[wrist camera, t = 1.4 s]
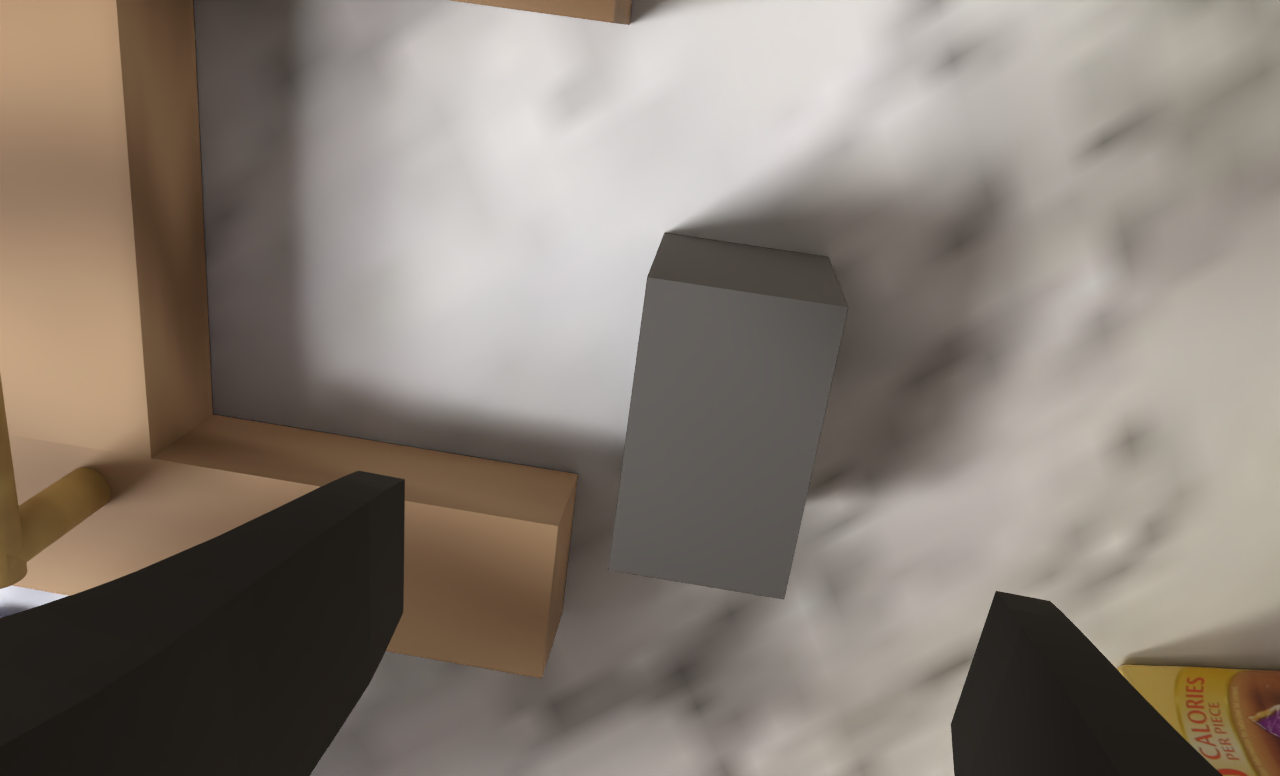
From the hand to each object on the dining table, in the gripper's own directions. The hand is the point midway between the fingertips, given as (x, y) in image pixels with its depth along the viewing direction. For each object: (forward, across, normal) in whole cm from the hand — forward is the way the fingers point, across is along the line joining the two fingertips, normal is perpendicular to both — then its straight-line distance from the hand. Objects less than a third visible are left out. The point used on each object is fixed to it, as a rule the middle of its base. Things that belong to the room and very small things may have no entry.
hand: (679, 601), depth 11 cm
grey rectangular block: (+10, 0, +1) cm, 10 cm away
